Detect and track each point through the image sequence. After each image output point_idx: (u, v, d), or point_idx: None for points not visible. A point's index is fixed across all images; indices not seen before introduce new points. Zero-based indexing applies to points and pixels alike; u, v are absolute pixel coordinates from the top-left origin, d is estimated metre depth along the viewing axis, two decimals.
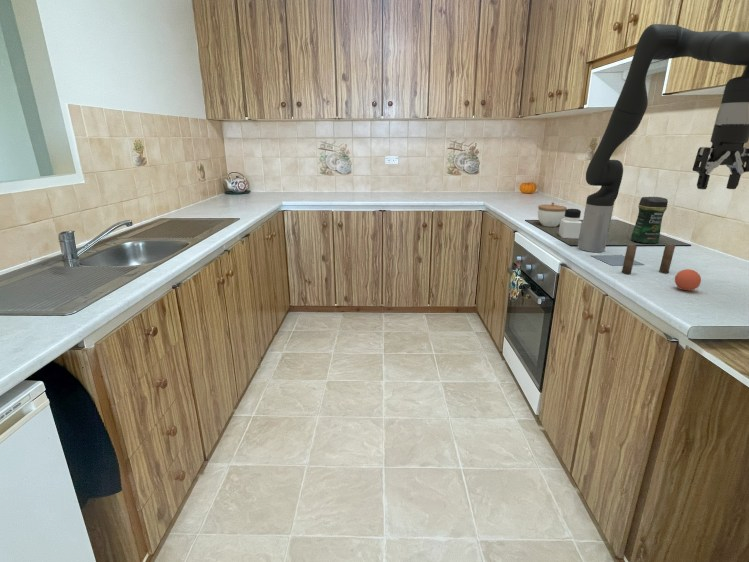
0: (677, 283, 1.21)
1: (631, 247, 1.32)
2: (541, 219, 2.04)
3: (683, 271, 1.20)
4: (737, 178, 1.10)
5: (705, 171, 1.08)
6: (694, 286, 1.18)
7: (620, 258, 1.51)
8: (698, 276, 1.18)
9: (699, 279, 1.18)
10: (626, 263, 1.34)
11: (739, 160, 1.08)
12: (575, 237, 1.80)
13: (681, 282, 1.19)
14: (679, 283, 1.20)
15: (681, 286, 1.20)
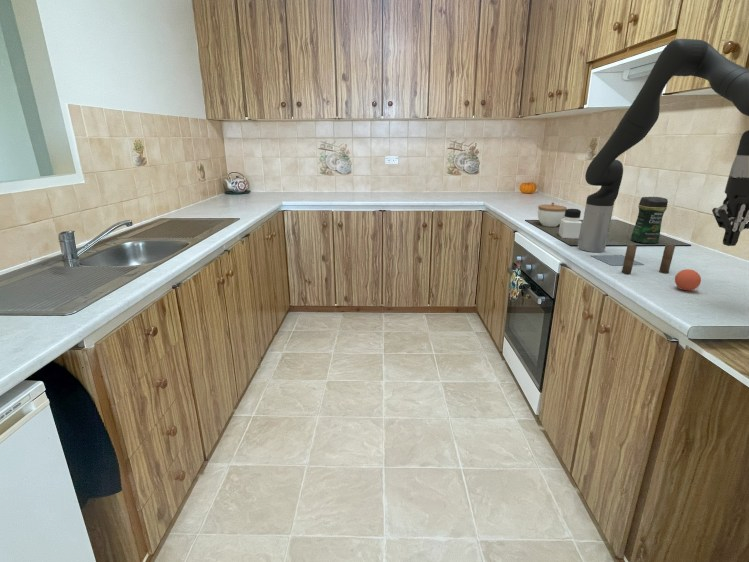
0: (677, 283, 1.21)
1: (631, 247, 1.32)
2: (541, 219, 2.04)
3: (683, 271, 1.20)
4: (737, 235, 1.06)
5: (732, 230, 1.06)
6: (694, 286, 1.18)
7: (620, 258, 1.51)
8: (698, 276, 1.18)
9: (699, 279, 1.18)
10: (626, 263, 1.34)
11: (748, 215, 1.04)
12: (575, 237, 1.80)
13: (681, 282, 1.19)
14: (679, 283, 1.20)
15: (681, 286, 1.20)
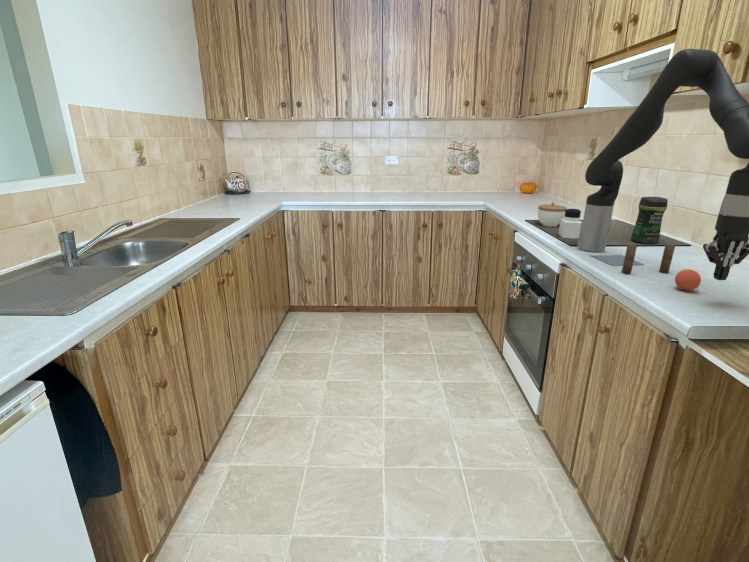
0: (677, 283, 1.21)
1: (631, 247, 1.32)
2: (541, 219, 2.04)
3: (683, 271, 1.20)
4: (727, 270, 1.09)
5: (722, 265, 1.08)
6: (694, 286, 1.18)
7: (620, 258, 1.51)
8: (698, 276, 1.18)
9: (699, 279, 1.18)
10: (626, 263, 1.34)
11: (738, 251, 1.07)
12: (575, 237, 1.80)
13: (681, 282, 1.19)
14: (679, 283, 1.20)
15: (681, 286, 1.20)
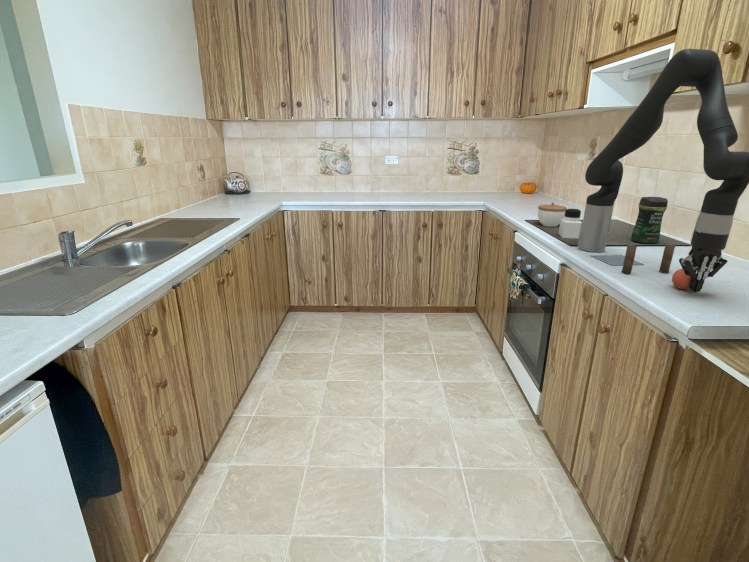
0: (675, 282, 1.21)
1: (631, 247, 1.32)
2: (541, 219, 2.04)
3: (678, 270, 1.21)
4: (701, 282, 1.17)
5: (696, 278, 1.16)
6: None
7: (620, 258, 1.51)
8: None
9: None
10: (626, 263, 1.34)
11: (711, 265, 1.14)
12: (575, 237, 1.80)
13: (678, 280, 1.20)
14: (677, 281, 1.21)
15: (679, 284, 1.20)
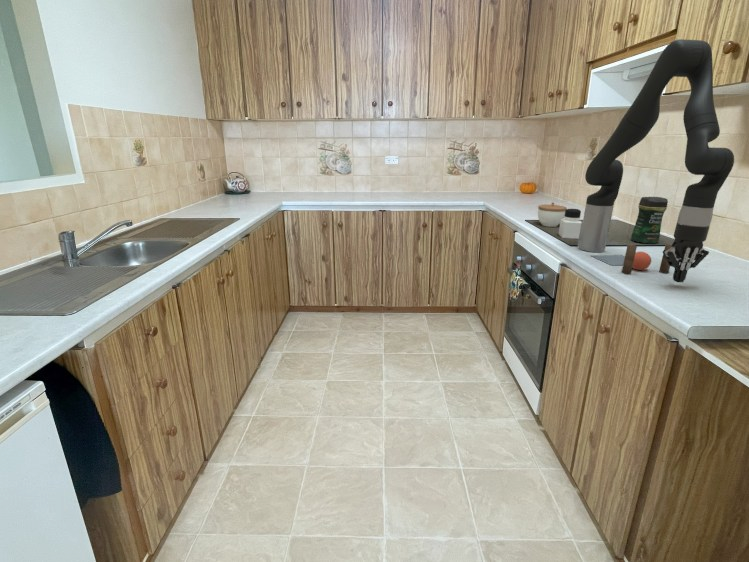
0: None
1: (631, 247, 1.32)
2: (541, 219, 2.04)
3: (637, 253, 1.37)
4: (684, 273, 1.22)
5: (679, 269, 1.21)
6: (644, 267, 1.37)
7: (620, 258, 1.51)
8: (649, 259, 1.36)
9: (649, 261, 1.36)
10: (626, 263, 1.34)
11: (693, 256, 1.20)
12: (575, 237, 1.80)
13: (633, 263, 1.38)
14: None
15: (633, 266, 1.38)
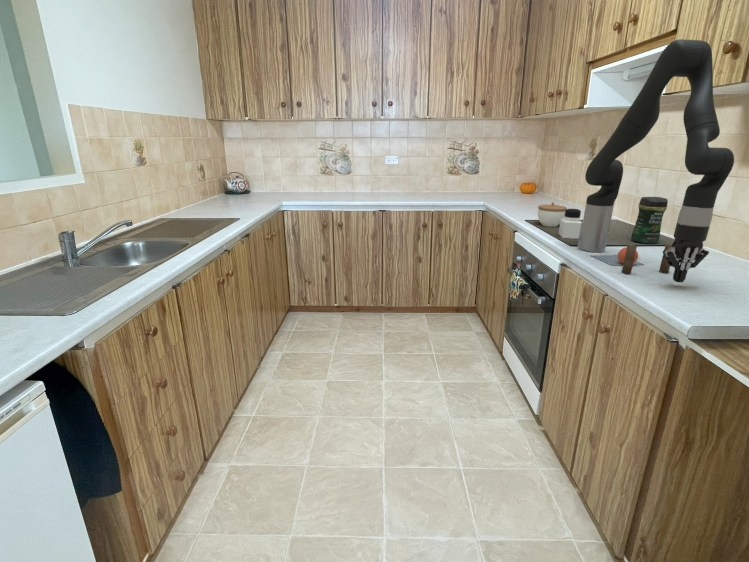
0: (622, 256, 1.43)
1: (631, 247, 1.32)
2: (541, 219, 2.04)
3: None
4: (684, 273, 1.22)
5: (679, 269, 1.21)
6: None
7: None
8: None
9: None
10: (626, 263, 1.34)
11: (693, 256, 1.20)
12: (575, 237, 1.80)
13: (621, 253, 1.43)
14: (621, 254, 1.43)
15: (624, 253, 1.42)
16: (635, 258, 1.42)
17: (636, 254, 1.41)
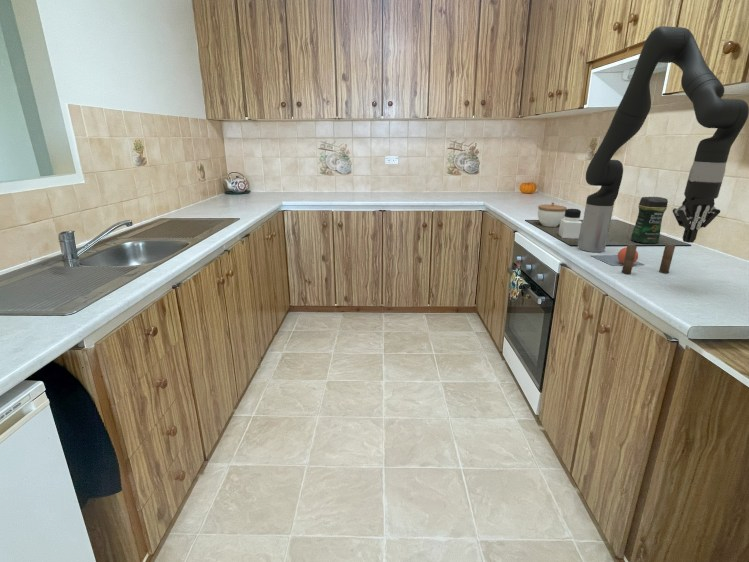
0: (622, 256, 1.43)
1: (631, 247, 1.32)
2: (541, 219, 2.04)
3: None
4: (694, 233, 1.18)
5: (690, 228, 1.18)
6: None
7: None
8: None
9: None
10: (626, 263, 1.34)
11: (704, 215, 1.16)
12: (575, 237, 1.80)
13: (621, 253, 1.43)
14: (621, 254, 1.43)
15: (624, 253, 1.42)
16: (635, 258, 1.42)
17: (636, 254, 1.41)
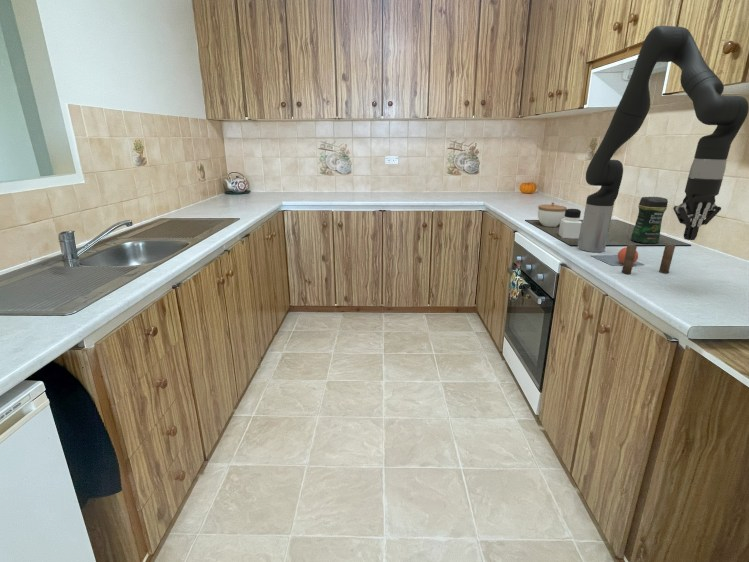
0: (622, 256, 1.43)
1: (631, 247, 1.32)
2: (541, 219, 2.04)
3: None
4: (695, 230, 1.18)
5: (691, 225, 1.17)
6: None
7: None
8: None
9: None
10: (626, 263, 1.34)
11: (705, 212, 1.16)
12: (575, 237, 1.80)
13: (621, 253, 1.43)
14: (621, 254, 1.43)
15: (624, 253, 1.42)
16: (635, 258, 1.42)
17: (636, 254, 1.41)
